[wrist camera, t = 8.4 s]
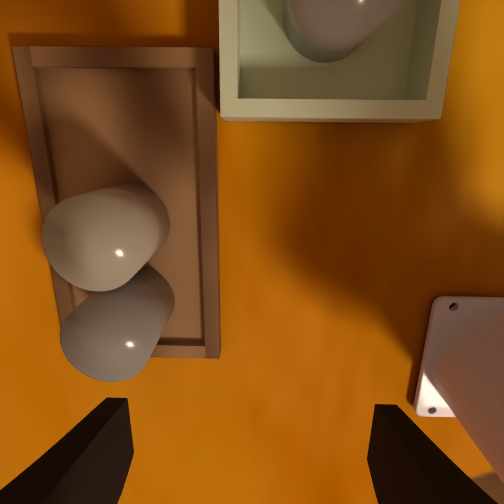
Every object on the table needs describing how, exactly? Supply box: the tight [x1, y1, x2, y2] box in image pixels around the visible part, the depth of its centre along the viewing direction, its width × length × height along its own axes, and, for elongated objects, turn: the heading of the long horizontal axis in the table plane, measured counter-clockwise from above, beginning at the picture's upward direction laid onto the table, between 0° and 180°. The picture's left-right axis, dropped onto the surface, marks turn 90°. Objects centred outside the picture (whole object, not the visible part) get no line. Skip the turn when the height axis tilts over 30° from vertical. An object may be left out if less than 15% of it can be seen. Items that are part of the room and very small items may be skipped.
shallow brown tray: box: [12, 46, 221, 359], centre depth 18 cm, size 9×16×1 cm, turn 179°
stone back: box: [60, 267, 175, 382], centre depth 17 cm, size 4×4×4 cm
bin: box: [219, 0, 460, 123], centre depth 14 cm, size 9×9×3 cm
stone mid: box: [42, 183, 170, 291], centre depth 16 cm, size 4×4×4 cm
